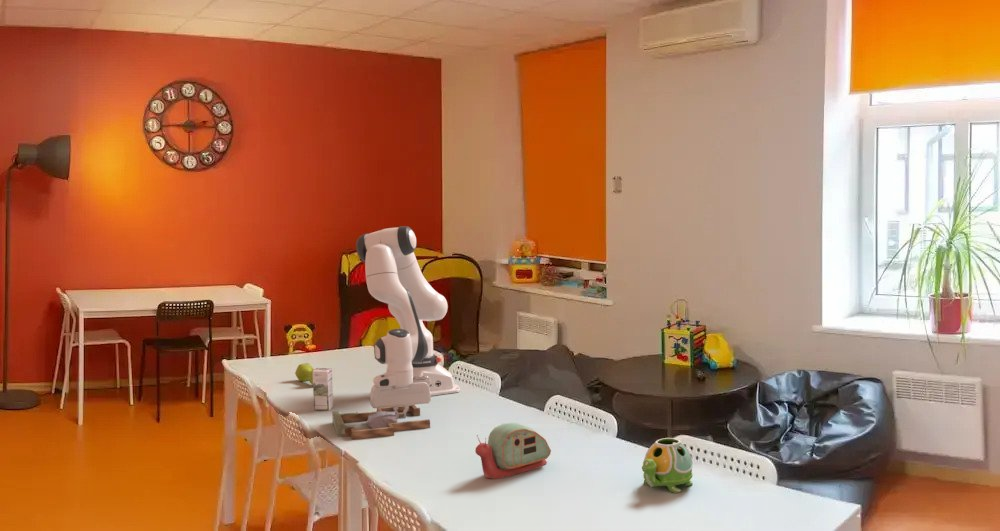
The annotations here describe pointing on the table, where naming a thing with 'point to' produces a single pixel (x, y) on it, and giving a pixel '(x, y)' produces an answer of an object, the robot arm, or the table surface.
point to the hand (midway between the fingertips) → (401, 418)
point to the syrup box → (322, 388)
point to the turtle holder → (667, 465)
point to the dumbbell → (305, 372)
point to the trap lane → (377, 432)
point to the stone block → (381, 419)
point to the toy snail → (512, 451)
